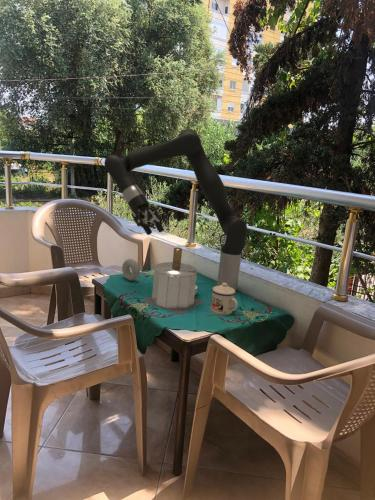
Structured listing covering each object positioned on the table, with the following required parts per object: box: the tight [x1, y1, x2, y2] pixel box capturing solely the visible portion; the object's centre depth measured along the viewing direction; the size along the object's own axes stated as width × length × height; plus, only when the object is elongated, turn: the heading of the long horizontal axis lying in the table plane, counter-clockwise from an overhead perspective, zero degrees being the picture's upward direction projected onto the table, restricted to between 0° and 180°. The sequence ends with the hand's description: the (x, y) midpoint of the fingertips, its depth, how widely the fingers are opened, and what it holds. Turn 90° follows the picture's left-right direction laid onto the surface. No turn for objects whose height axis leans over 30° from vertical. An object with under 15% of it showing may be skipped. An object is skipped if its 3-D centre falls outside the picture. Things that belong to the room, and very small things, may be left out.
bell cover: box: [151, 247, 198, 310], centre depth 161 cm, size 17×17×22 cm
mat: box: [140, 295, 205, 315], centre depth 164 cm, size 18×19×1 cm
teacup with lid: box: [210, 283, 239, 316], centre depth 158 cm, size 12×9×12 cm
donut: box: [121, 258, 140, 282], centre depth 184 cm, size 10×4×10 cm, turn 48°
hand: (156, 232), depth 162 cm, fingers open, 8 cm apart
